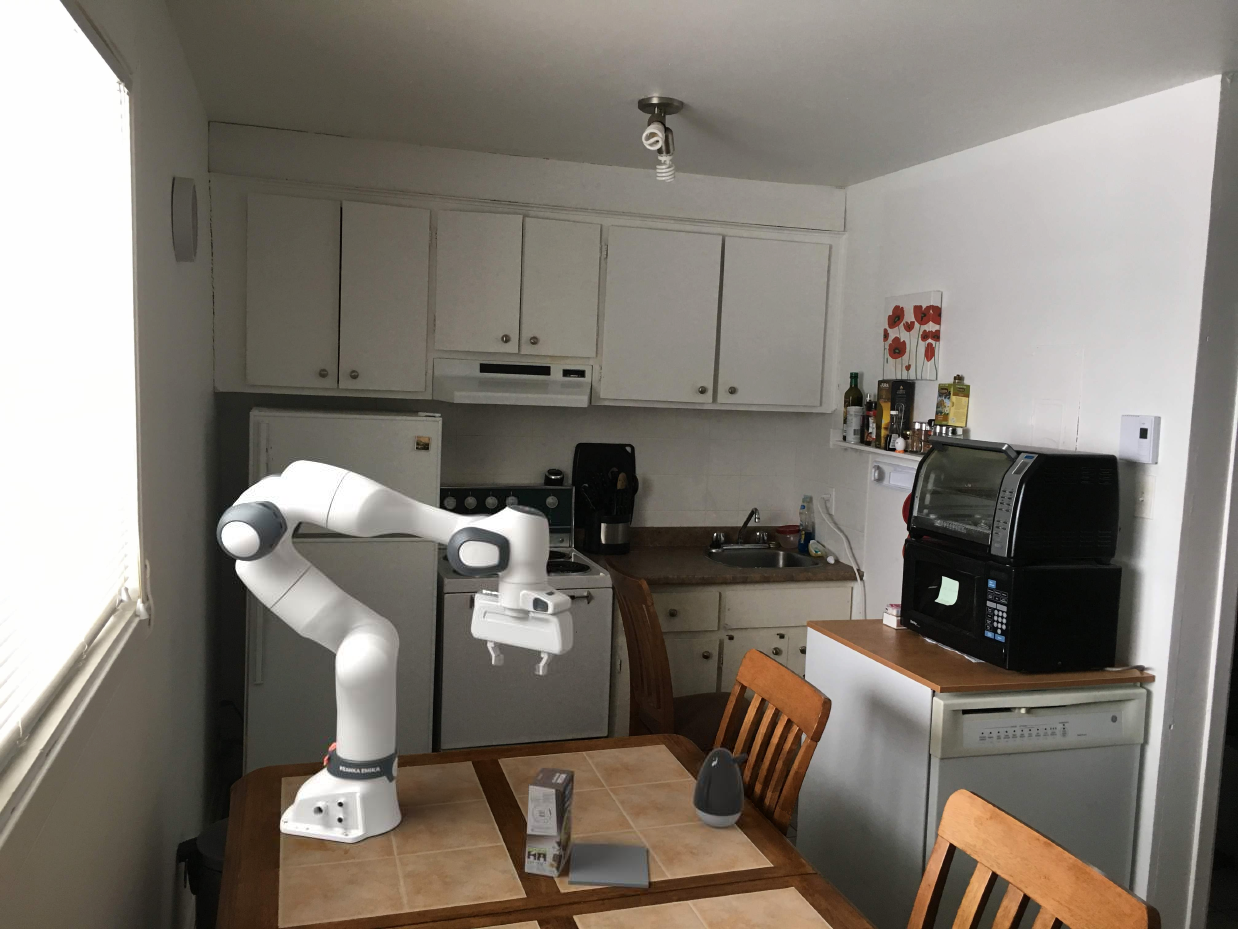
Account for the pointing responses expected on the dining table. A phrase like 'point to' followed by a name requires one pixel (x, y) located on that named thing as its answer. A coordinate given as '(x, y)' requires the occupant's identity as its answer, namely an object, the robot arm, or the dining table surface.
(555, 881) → the dining table surface
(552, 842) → the coffee box
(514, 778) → the dining table surface
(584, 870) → the mat
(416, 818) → the dining table surface
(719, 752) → the pump dispenser
